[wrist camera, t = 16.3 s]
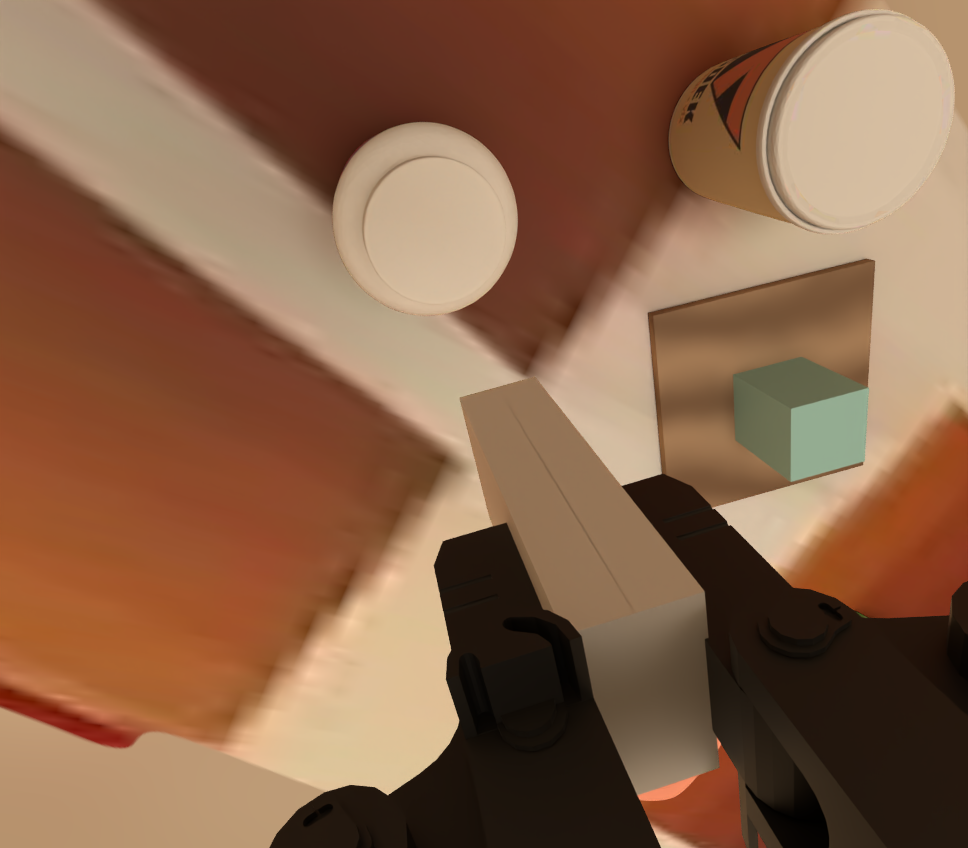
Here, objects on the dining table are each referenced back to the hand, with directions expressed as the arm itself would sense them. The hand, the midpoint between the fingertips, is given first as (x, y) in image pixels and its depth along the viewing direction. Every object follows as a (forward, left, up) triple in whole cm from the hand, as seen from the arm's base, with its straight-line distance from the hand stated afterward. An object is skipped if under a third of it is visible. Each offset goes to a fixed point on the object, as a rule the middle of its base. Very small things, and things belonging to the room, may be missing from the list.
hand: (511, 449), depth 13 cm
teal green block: (+16, +23, -28) cm, 40 cm away
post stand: (+16, +23, -29) cm, 40 cm away
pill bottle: (-2, +1, -29) cm, 29 cm away
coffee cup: (-2, +21, -29) cm, 36 cm away
